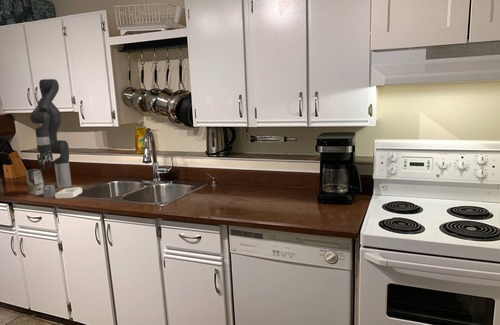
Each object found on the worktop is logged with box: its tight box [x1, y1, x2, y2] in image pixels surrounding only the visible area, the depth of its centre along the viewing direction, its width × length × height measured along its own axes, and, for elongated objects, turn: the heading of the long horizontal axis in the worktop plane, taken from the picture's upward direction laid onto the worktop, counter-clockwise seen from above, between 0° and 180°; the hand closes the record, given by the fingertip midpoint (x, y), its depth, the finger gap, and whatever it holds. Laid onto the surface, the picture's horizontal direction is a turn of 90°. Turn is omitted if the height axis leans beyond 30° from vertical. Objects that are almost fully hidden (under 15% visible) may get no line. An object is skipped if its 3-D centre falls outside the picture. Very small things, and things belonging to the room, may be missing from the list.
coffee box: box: [25, 168, 45, 196], centre depth 248 cm, size 9×6×16 cm
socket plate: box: [54, 186, 83, 199], centre depth 242 cm, size 14×11×4 cm
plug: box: [43, 184, 56, 198], centre depth 241 cm, size 5×5×7 cm
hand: (46, 169), depth 238 cm, fingers open, 8 cm apart
